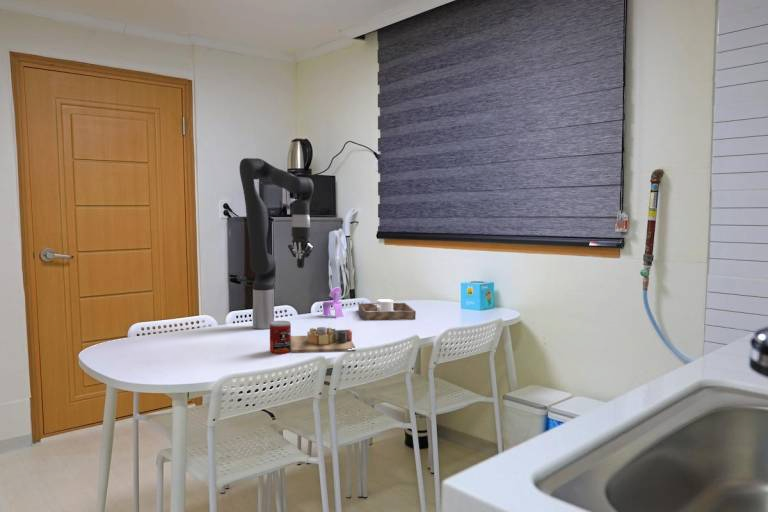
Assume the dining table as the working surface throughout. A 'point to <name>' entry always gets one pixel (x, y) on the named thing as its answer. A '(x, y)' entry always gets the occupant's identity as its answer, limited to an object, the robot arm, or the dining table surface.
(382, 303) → the tree stump
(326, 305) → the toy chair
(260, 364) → the dining table surface
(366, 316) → the walnut frame
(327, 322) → the dining table surface
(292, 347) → the jig board
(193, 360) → the dining table surface
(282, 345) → the canned food
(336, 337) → the gold ring with lever
